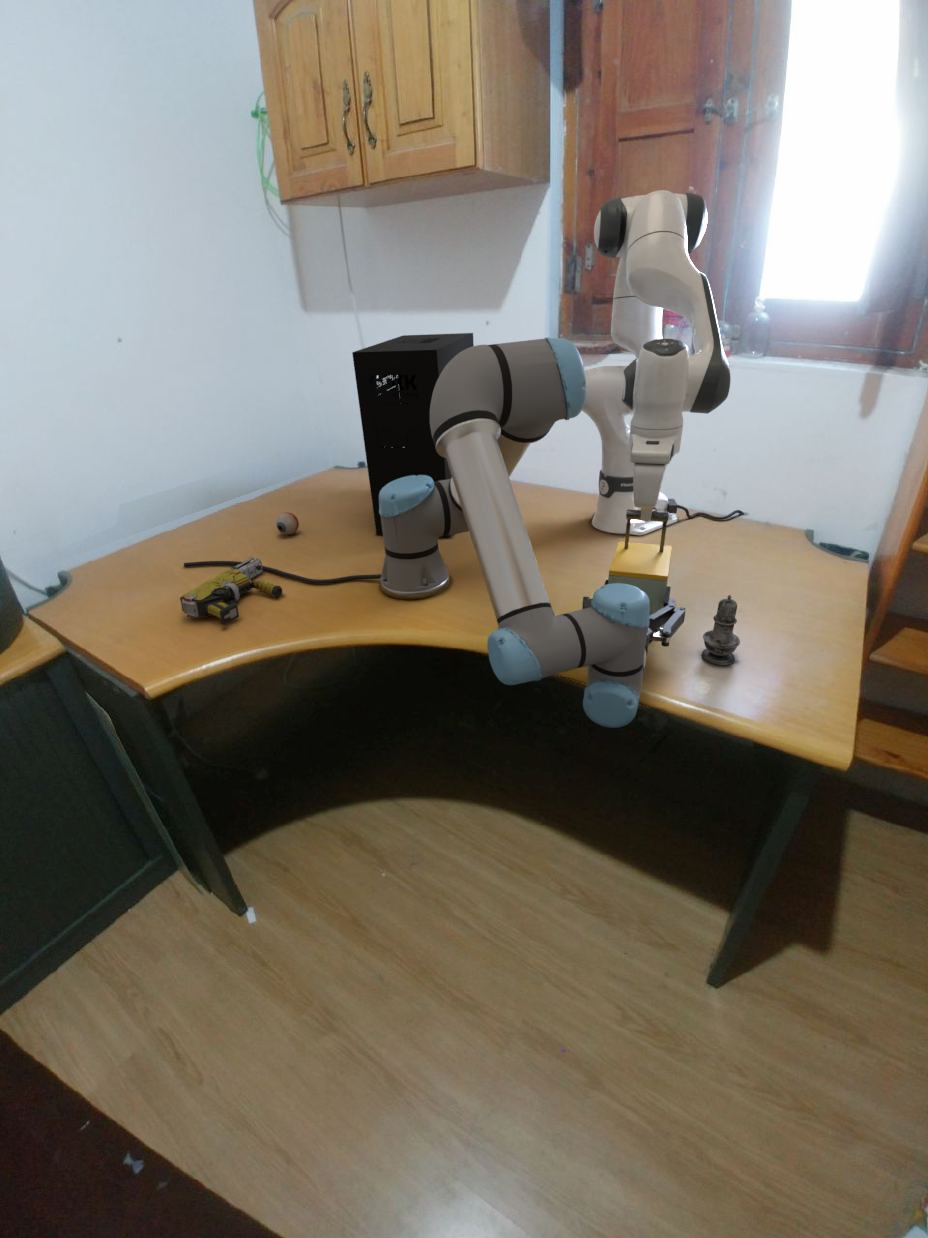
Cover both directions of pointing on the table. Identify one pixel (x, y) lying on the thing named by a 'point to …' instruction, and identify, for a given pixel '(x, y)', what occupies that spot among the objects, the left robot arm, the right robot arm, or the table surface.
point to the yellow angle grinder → (226, 592)
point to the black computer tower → (402, 407)
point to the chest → (646, 590)
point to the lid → (642, 553)
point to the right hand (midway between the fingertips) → (646, 515)
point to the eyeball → (287, 523)
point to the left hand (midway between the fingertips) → (637, 589)
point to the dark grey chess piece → (722, 635)
